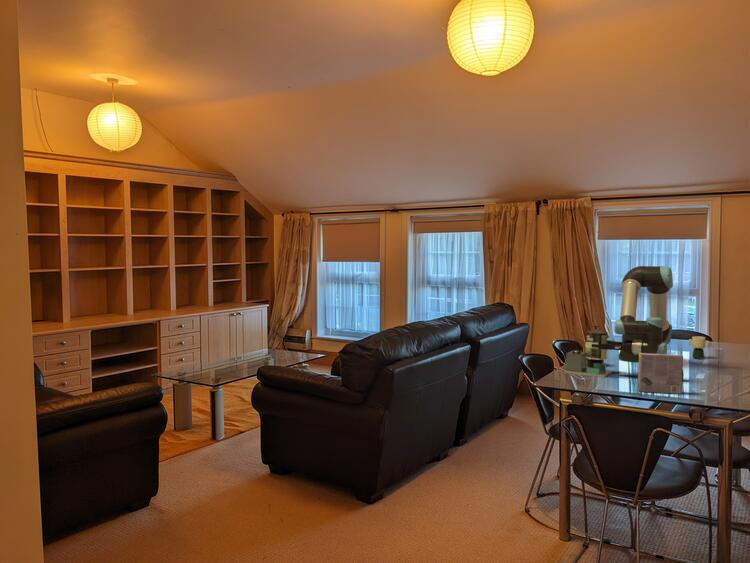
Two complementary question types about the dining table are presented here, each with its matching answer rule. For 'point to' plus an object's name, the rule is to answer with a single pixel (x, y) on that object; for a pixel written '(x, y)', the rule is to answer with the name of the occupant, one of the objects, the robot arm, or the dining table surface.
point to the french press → (591, 361)
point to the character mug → (698, 346)
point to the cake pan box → (660, 373)
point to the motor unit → (583, 365)
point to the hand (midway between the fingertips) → (588, 343)
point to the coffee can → (595, 338)
